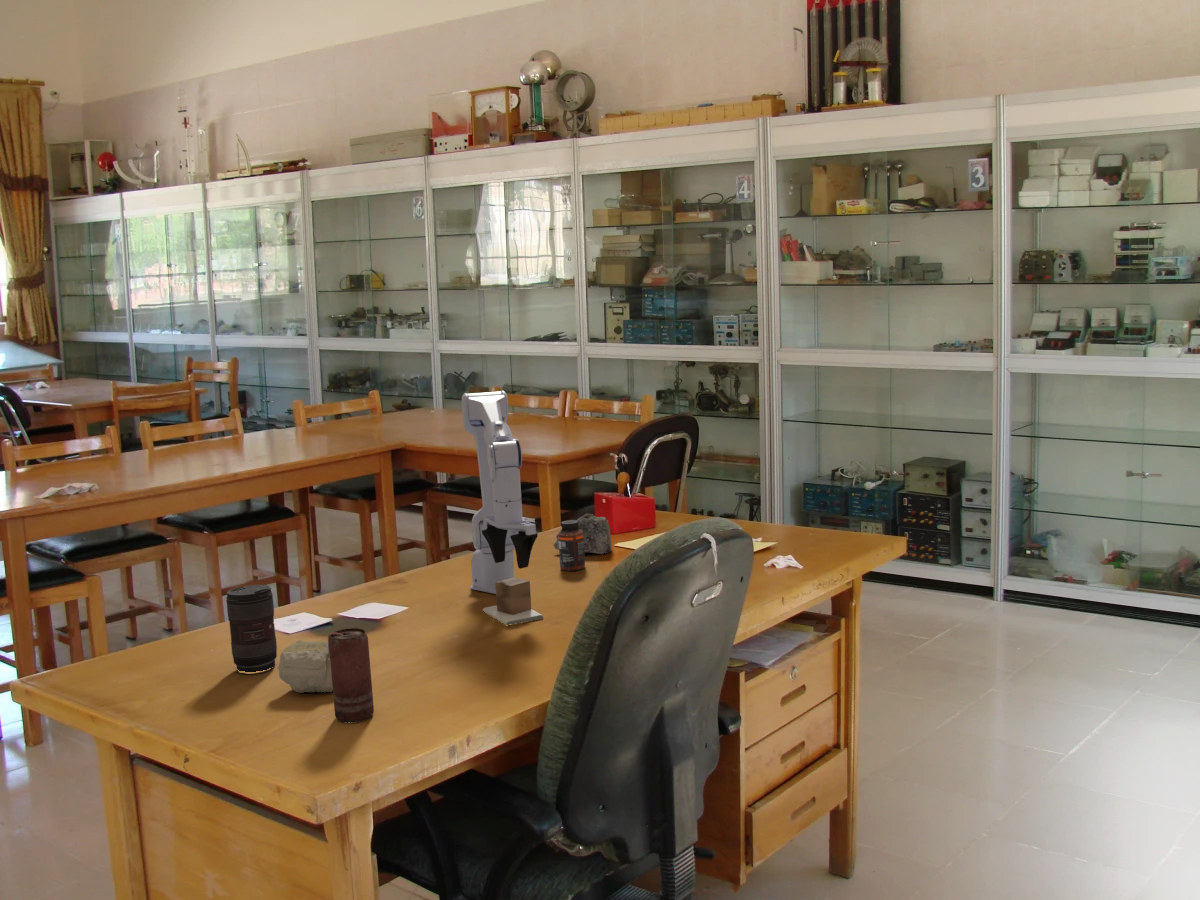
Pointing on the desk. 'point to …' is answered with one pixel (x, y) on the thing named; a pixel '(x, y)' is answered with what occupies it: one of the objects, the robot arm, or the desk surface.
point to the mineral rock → (593, 534)
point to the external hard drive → (510, 618)
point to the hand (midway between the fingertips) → (511, 564)
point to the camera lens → (252, 627)
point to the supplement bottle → (571, 546)
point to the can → (351, 675)
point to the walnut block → (513, 595)
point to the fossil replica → (306, 666)
